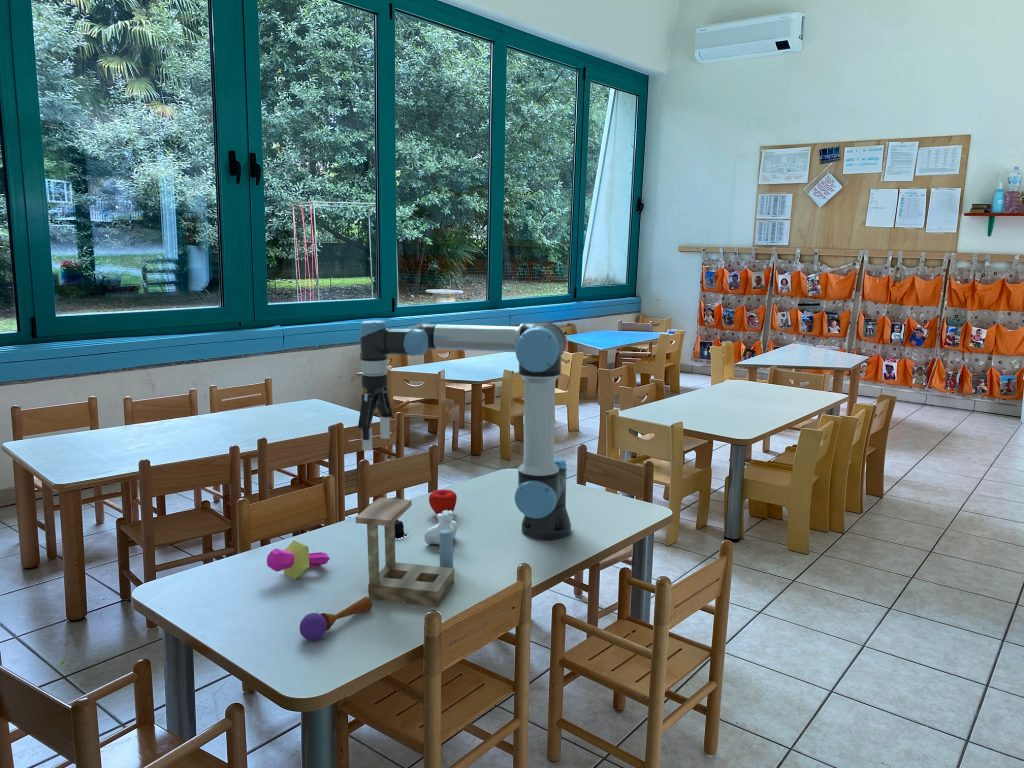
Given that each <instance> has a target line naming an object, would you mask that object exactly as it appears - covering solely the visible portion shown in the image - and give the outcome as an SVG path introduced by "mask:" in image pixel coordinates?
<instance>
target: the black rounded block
mask: <svg viewBox="0 0 1024 768" xmlns="http://www.w3.org/2000/svg"><path fill="white" fill-rule="evenodd" d="M394 526H395V538H397V539H398V538H401V537H403V538H404V536H407V534H408V533H407V534H405V533H406V532H405V529H404V528H405V527H404V522H403V521H401V520H399V519H397V520H396V521H395V522H394ZM404 532H405V533H404ZM384 533H385V532H384ZM404 539H405V538H404Z"/></svg>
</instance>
